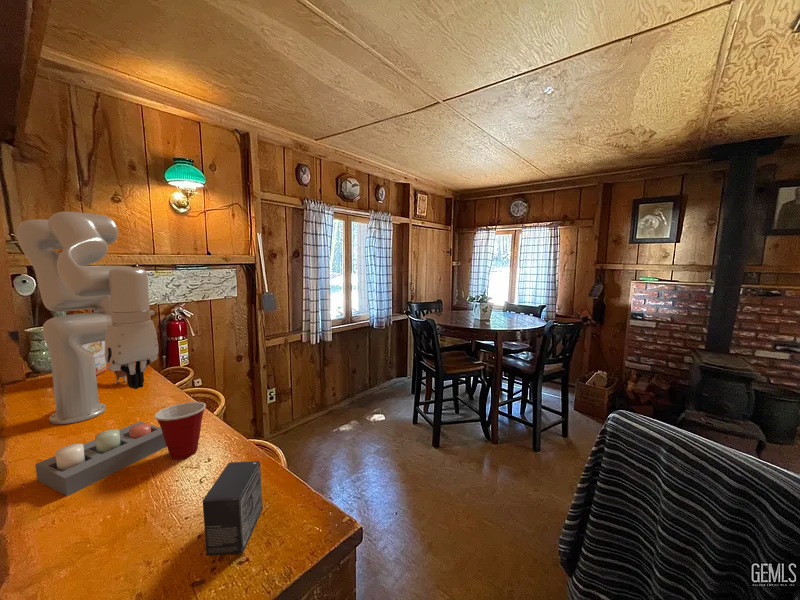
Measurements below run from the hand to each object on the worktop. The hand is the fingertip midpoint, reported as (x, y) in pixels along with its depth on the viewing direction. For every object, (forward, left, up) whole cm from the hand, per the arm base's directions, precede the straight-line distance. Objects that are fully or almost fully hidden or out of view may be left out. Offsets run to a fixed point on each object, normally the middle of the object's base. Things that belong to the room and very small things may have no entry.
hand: (136, 387), depth 85 cm
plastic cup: (+13, +2, -16) cm, 21 cm away
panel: (0, -7, -16) cm, 18 cm away
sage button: (0, -7, -14) cm, 16 cm away
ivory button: (0, -14, -14) cm, 20 cm away
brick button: (0, 0, -16) cm, 16 cm away
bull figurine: (-53, +25, -16) cm, 60 cm away
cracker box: (-74, +23, -16) cm, 79 cm away
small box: (+45, -10, -16) cm, 49 cm away
